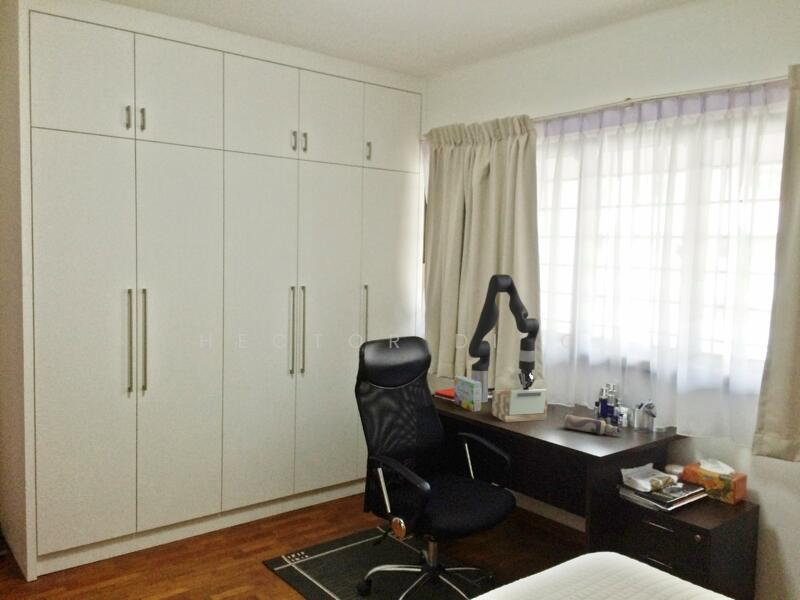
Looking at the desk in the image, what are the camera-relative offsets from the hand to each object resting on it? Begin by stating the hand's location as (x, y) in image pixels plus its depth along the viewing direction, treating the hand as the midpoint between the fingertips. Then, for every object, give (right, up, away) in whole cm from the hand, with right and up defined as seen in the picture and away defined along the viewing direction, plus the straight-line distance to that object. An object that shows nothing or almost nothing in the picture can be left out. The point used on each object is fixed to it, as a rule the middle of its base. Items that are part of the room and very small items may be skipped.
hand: (525, 394), depth 326 cm
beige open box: (-2, -12, +7) cm, 14 cm away
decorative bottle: (+25, -15, -21) cm, 36 cm away
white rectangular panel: (0, -10, -1) cm, 10 cm away
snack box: (-26, -11, +27) cm, 39 cm away
